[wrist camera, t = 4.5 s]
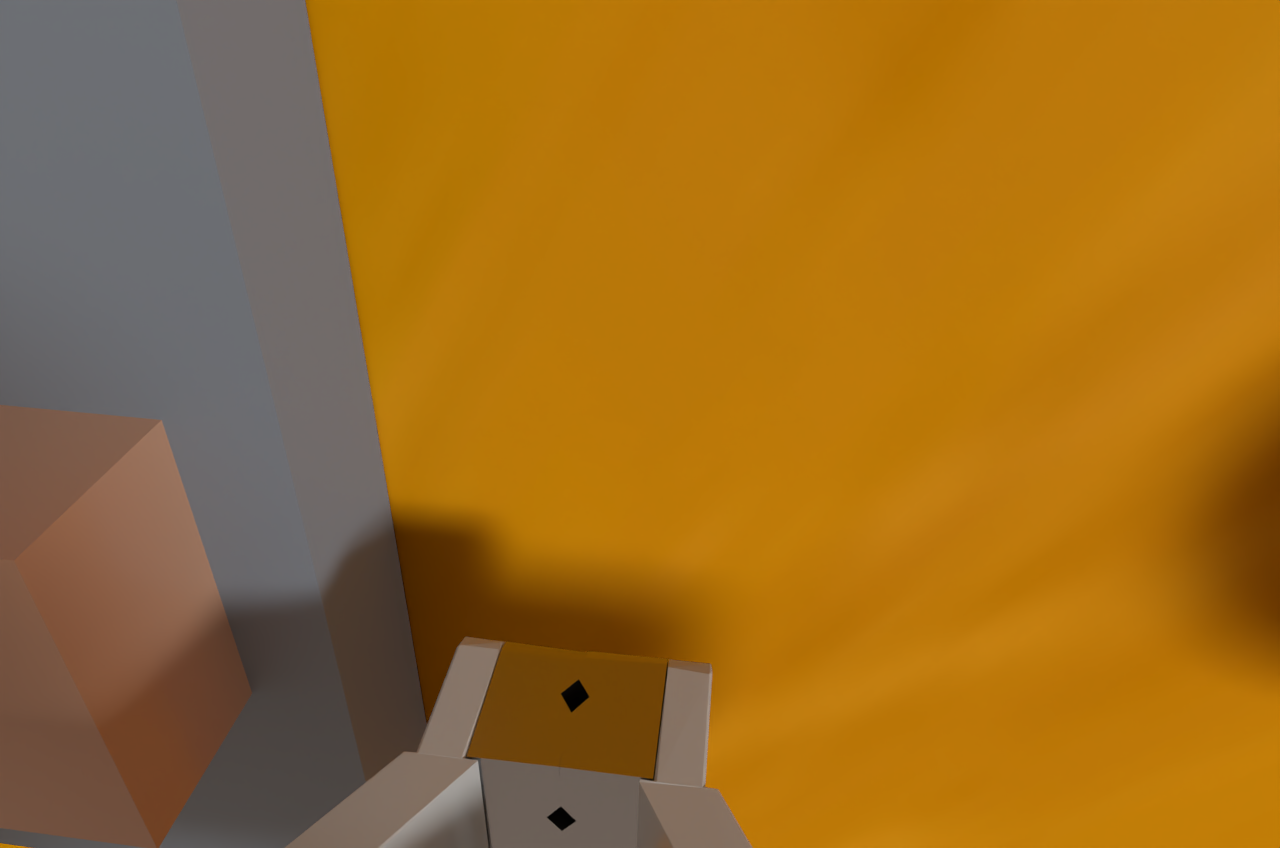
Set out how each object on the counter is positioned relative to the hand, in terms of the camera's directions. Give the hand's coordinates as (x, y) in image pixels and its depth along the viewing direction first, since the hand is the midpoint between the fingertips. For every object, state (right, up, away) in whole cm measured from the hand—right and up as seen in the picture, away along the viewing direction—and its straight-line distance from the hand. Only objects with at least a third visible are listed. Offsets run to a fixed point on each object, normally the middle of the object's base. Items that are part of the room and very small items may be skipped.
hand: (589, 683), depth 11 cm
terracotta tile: (-8, +1, +2) cm, 8 cm away
